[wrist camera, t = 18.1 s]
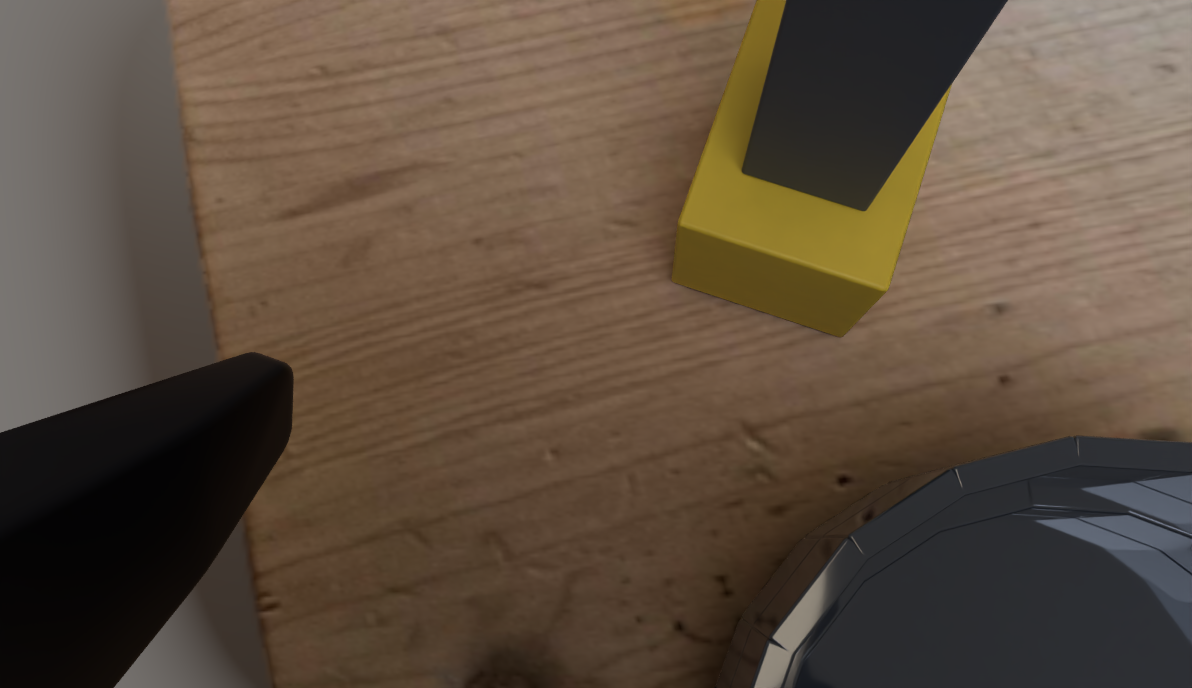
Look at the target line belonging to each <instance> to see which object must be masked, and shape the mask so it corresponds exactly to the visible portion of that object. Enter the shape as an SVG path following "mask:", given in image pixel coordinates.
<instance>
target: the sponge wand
mask: <svg viewBox="0 0 1192 688" xmlns="http://www.w3.org/2000/svg"><path fill="white" fill-rule="evenodd" d="M1007 1H1008V0H786V1H785V0H757V1H756V4H755V7H754V9H753V12H752V15H751V18H750V21H749V23H748V26H747V29H746V32H745V35H744V37H743V40H742V43H741V46H740V49H739V51H738V54H737V57H736V60H735V63H734V65H733V68H732V71H731V74H730V77H729V79H728V82H727V85H726V88H725V91H724V93H723V96H722V99H721V102H720V105H719V108H718V110H717V113H716V116H715V119H714V122H713V124H712V127H711V130H710V133H709V136H708V138H707V141H706V144H705V147H704V150H703V152H702V155H701V158H700V161H699V164H698V166H697V169H696V172H695V175H694V178H693V180H692V183H691V186H690V189H689V192H688V194H687V197H686V200H685V203H684V206H683V208H682V211H681V214H680V217H679V220H678V225H677V234H676V243H675V253H674V262H673V271H672V281H673V282H674V283H677V284H680V285H683V286H686V287H689V288H692V289H695V290H698V291H701V292H704V293H707V294H710V295H713V296H716V297H719V298H722V299H726V300H729V301H732V302H735V303H738V304H741V305H744V306H747V307H750V308H753V309H756V310H759V311H762V312H765V313H768V314H771V315H774V316H777V317H780V318H783V319H786V320H789V321H792V322H795V323H798V324H801V325H804V326H807V327H810V328H813V329H816V330H819V331H822V332H825V333H828V334H832V335H835V336H838V337H843V336H844V335H845V334H846V333H847V332H848V331H849V330H850V329H851V328H852V327H853V326H854V325H855V324H856V323H857V321H858V320H859V319H860V318H861V317H862V316H863V315H864V314H865V313H866V312H867V311H868V310H869V309H870V308H871V307H872V306H873V305H874V304H875V303H876V302H877V301H878V300H879V299H880V298H881V297H882V296H883V295H884V294H885V293H886V291H887V290H888V289H889V286H890V283H891V279H892V276H893V273H894V270H895V266H896V263H897V260H898V257H899V254H900V250H901V247H902V244H903V241H904V237H905V234H906V231H907V228H908V224H909V221H910V218H911V215H912V211H913V208H914V205H915V202H916V199H917V195H918V192H919V189H920V186H921V182H922V179H923V176H924V173H925V169H926V166H927V163H928V160H929V156H930V153H931V150H932V147H933V143H934V140H935V137H936V134H937V131H938V127H939V124H940V121H941V118H942V114H943V111H944V108H945V105H946V101H947V98H948V95H949V92H950V88H951V85H952V83H953V81H954V80H955V78H956V77H957V75H958V74H959V72H960V71H961V69H962V68H963V66H964V65H965V63H966V62H967V60H968V59H969V57H970V56H971V54H972V53H973V51H974V50H975V48H976V47H977V46H978V44H979V43H980V41H981V40H982V38H983V37H984V35H985V34H986V32H987V31H988V29H989V28H990V26H991V25H992V23H993V22H994V20H995V19H996V17H997V16H998V14H999V13H1000V11H1001V10H1002V8H1003V7H1004V5H1005V4H1006V2H1007Z"/></svg>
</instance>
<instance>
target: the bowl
mask: <svg viewBox="0 0 1192 688" xmlns="http://www.w3.org/2000/svg"><path fill="white" fill-rule="evenodd" d="M742 618H743V619H741V620H740V621H739V622H738V625H737V627H736V630H735V633H734V636H733V639H732V641H731V644H730V647H729V650H728V653H727V655H726V658H725V661H724V664H723V667H722V669H721V672H720V675H719V678H718V680H717V683H716V686H715V688H1192V442H1178V441H1161V440H1144V439H1127V438H1111V437H1094V436H1073V437H1071V436H1068V437H1064V438H1060V439H1056V440H1052V441H1048V442H1044V443H1040V444H1036V445H1032V446H1028V447H1024V448H1020V449H1016V450H1012V451H1008V452H1004V453H1000V454H996V455H992V456H988V457H984V458H980V459H976V460H972V461H968V462H965V463H961V464H957V465H953V466H949V467H945V468H941V469H937V470H934V471H930V472H926V473H922V474H918V475H914V476H910V477H907V478H903V479H899V480H895V481H891V482H889V483H887V484H886V485H882V486H880V487H879V488H877V489H876V490H874V491H872V492H871V493H869V494H868V495H866V496H865V497H863V498H862V499H860V500H859V501H857V502H856V503H854V504H853V505H851V506H850V507H848V508H847V509H845V510H843V511H842V512H840V513H839V514H837V515H836V516H834V517H833V518H831V519H830V520H828V521H827V522H825V523H824V524H822V525H821V526H819V527H818V528H816V529H814V530H813V531H811V532H810V533H808V534H807V535H806V536H805V539H802V540H800V541H799V542H798V544H797V545H796V546H795V547H794V549H793V550H792V551H791V553H790V554H789V555H788V556H787V558H786V559H785V560H784V562H783V563H782V564H781V565H780V567H779V568H778V569H777V571H776V572H775V573H774V574H773V576H772V577H771V578H770V579H769V581H768V582H767V583H766V585H765V586H764V587H763V588H762V590H761V591H760V592H759V594H758V595H757V596H756V597H755V599H754V600H753V601H752V603H751V604H750V605H749V606H748V608H747V609H746V610H745V612H744V613H743V614H742Z"/></svg>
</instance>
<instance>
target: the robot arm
mask: <svg viewBox="0 0 1192 688" xmlns="http://www.w3.org/2000/svg"><path fill="white" fill-rule="evenodd" d="M293 380H294V379H293V372H292V369H291V367H290V366H289V365H288V364H287V363H285V362H282V361H279V360H277V359H274V358H271V357H268V356H265V355H263V354H260V353H255V352H250V353H245V354H242V355H239V356H236V357H233V358H230V359H226V360H223V361H220V362H217V363H214V364H211V365H208V366H205V367H202V368H199V369H196V370H192V371H189V372H187V373H183V374H180V375H177V376H174V377H171V378H168V379H165V380H162V381H159V382H156V383H153V384H149V385H147V386H143V387H140V388H137V389H135V390H131V391H128V392H125V393H122V394H118V395H115V396H112V397H109V398H106V399H103V400H100V401H97V402H94V403H91V404H88V405H84V406H81V407H79V408H75V409H72V410H69V411H66V412H63V413H60V414H57V415H54V416H50V417H47V418H44V419H41V420H38V421H35V422H32V423H29V424H26V425H23V426H20V427H17V428H13V429H11V430H8V431H4V432H1V433H0V688H114V687H115V685H116V684H117V683H118V682H119V681H120V679H121V678H122V677H123V676H124V674H125V673H126V672H127V671H128V669H129V668H130V667H131V666H132V664H133V663H134V662H135V661H136V659H137V658H138V657H139V656H140V654H141V653H142V652H143V651H144V649H145V648H146V647H147V646H148V644H149V643H150V642H151V641H152V639H153V638H154V637H155V636H156V634H157V633H158V632H159V631H160V629H161V628H162V627H163V626H164V624H165V623H166V622H167V621H168V619H169V618H170V617H171V616H172V615H173V613H174V612H175V611H176V610H177V608H178V607H179V606H180V605H181V603H182V602H183V601H184V600H185V598H186V597H187V596H188V594H189V593H190V592H191V591H192V590H193V588H194V587H195V586H196V584H197V583H198V582H199V580H200V579H201V578H202V576H203V575H204V574H205V573H206V571H207V570H208V568H209V567H210V565H211V564H212V562H213V561H214V559H215V558H216V556H217V555H218V553H219V552H220V550H221V549H222V547H223V546H224V544H225V542H226V541H227V539H228V538H229V536H230V535H231V533H232V531H233V530H234V528H235V527H236V525H237V524H238V522H239V520H240V519H241V517H242V516H243V514H244V512H245V511H246V509H247V508H248V506H249V505H250V503H251V501H252V500H253V498H254V497H255V495H256V494H257V492H258V490H259V489H260V487H261V486H262V484H263V483H264V481H265V479H266V478H267V476H268V475H269V473H270V471H271V470H272V468H273V467H274V465H275V464H276V462H277V460H278V459H279V457H280V456H281V454H282V453H283V451H284V449H285V447H286V445H287V443H288V440H289V437H290V434H291V430H292V411H293Z"/></svg>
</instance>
